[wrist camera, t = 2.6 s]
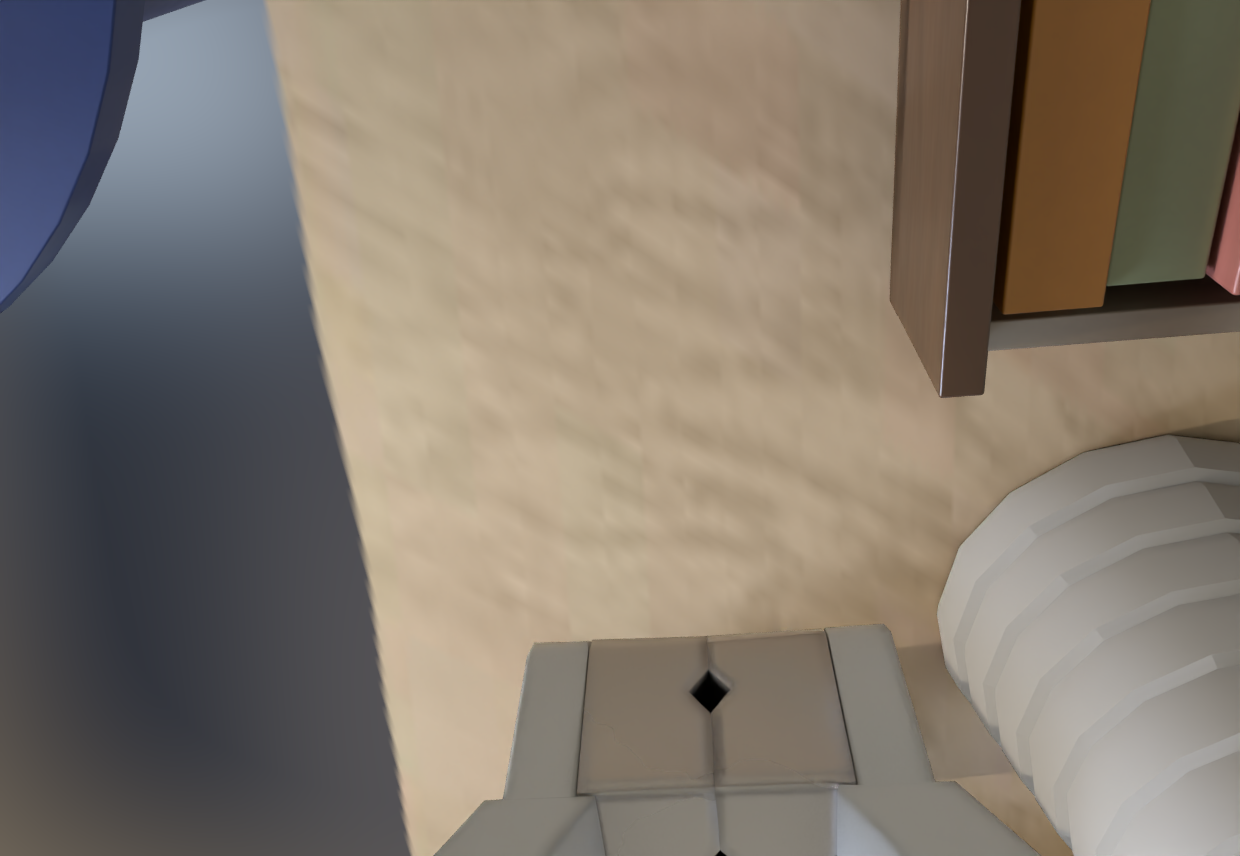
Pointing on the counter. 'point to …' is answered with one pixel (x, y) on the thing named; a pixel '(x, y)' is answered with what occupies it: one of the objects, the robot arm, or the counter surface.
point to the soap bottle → (1112, 644)
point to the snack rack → (1063, 176)
